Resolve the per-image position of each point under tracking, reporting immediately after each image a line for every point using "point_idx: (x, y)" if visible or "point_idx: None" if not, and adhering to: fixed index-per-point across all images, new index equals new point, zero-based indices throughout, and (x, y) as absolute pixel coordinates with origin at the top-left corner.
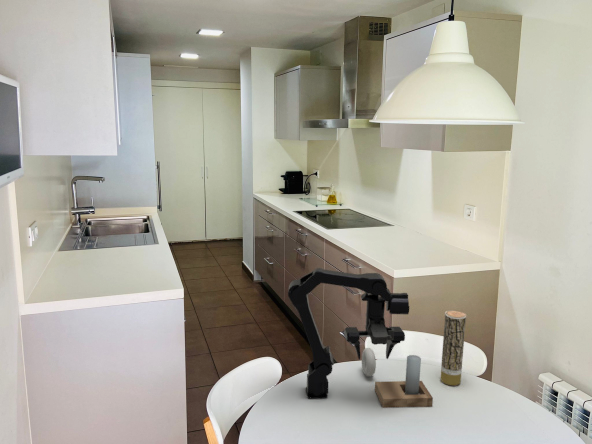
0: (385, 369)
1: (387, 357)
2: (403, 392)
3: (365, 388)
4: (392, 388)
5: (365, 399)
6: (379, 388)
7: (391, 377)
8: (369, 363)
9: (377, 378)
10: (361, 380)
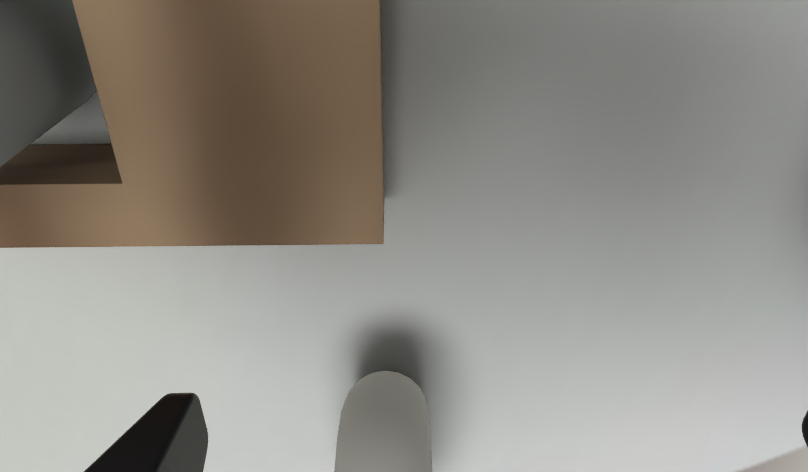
0: (237, 462)
1: (168, 417)
2: (77, 1)
3: (462, 226)
4: (211, 103)
5: (522, 34)
6: (367, 107)
7: (202, 371)
8: (409, 463)
9: (321, 361)
10: (461, 338)
